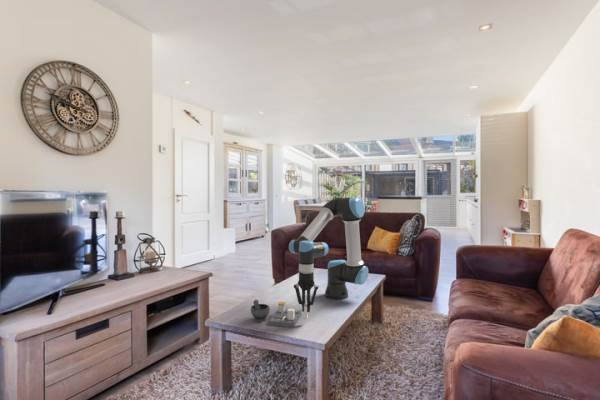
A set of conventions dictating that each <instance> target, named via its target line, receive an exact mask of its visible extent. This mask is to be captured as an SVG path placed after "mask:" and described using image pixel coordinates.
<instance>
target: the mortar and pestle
mask: <svg viewBox="0 0 600 400" xmlns="http://www.w3.org/2000/svg"><path fill="white" fill-rule="evenodd" d="M259 301H260V300H259V299H254V300H253V301H252V303H253V305H251V306H250V313H251V315H252V316H253V320H254V322H255V323H264V322H265V321H267V319H266V318H267V316H268V315H269V314H270V306H269V304H265V303H259Z"/></svg>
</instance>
